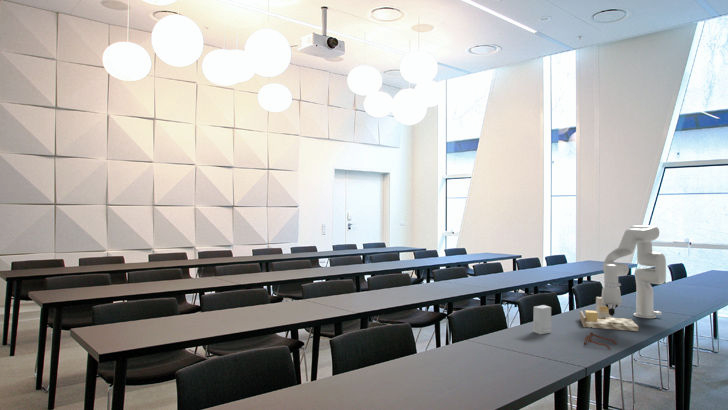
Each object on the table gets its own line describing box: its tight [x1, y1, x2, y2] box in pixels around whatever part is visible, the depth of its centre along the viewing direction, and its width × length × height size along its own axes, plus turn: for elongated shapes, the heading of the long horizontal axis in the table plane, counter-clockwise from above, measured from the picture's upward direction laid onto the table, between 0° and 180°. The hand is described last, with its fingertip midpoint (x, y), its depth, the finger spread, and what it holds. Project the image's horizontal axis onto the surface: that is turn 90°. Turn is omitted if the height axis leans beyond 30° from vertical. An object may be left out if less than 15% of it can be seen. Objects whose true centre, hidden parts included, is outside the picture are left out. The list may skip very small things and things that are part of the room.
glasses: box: [583, 332, 618, 350], centre depth 252 cm, size 13×13×5 cm
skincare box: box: [532, 304, 552, 335], centre depth 275 cm, size 8×6×15 cm
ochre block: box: [584, 309, 597, 321], centre depth 296 cm, size 6×6×5 cm
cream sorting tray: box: [579, 310, 640, 332], centre depth 293 cm, size 29×20×6 cm
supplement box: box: [595, 296, 613, 318], centre depth 312 cm, size 8×5×13 cm, turn 84°
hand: (611, 315), depth 293 cm, fingers closed
